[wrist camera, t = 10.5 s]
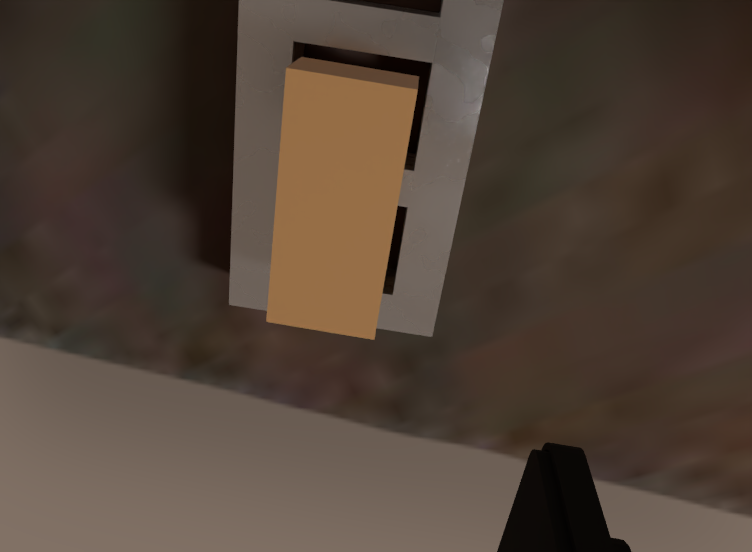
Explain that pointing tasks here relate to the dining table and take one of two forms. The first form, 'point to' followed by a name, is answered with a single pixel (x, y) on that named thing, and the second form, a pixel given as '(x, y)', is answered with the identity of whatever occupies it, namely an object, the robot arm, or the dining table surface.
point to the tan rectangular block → (337, 193)
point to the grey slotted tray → (423, 168)
